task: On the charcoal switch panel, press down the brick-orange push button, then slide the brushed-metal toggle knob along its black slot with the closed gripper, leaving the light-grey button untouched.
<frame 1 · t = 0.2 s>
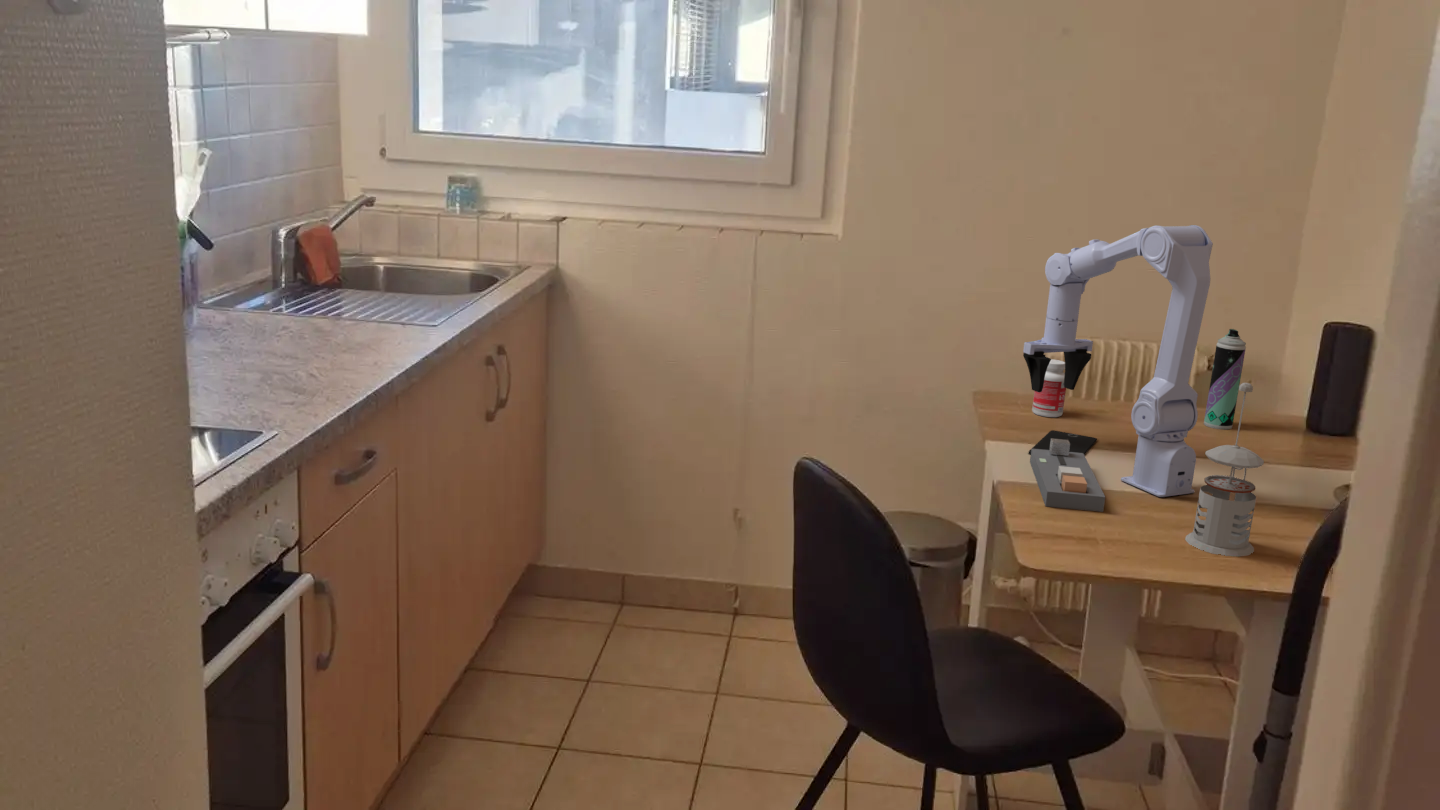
hand: (1052, 389, 234), 10 cm above the table, tool pointing down, fingers open, 7 cm apart
toggle knob: (1059, 447, 220), point 4 cm above the table, slide at 0.0 cm
french press: (1220, 543, 189), on the table
grey button: (1069, 477, 206), point 3 cm above the table, slide at 0.0 cm
cell phone: (1062, 450, 233), on the table
spray can: (1217, 426, 255), on the table
orange button: (1073, 486, 202), point 3 cm above the table, slide at 0.0 cm
pill bottle: (1046, 414, 256), on the table
switch panel: (1064, 485, 211), on the table
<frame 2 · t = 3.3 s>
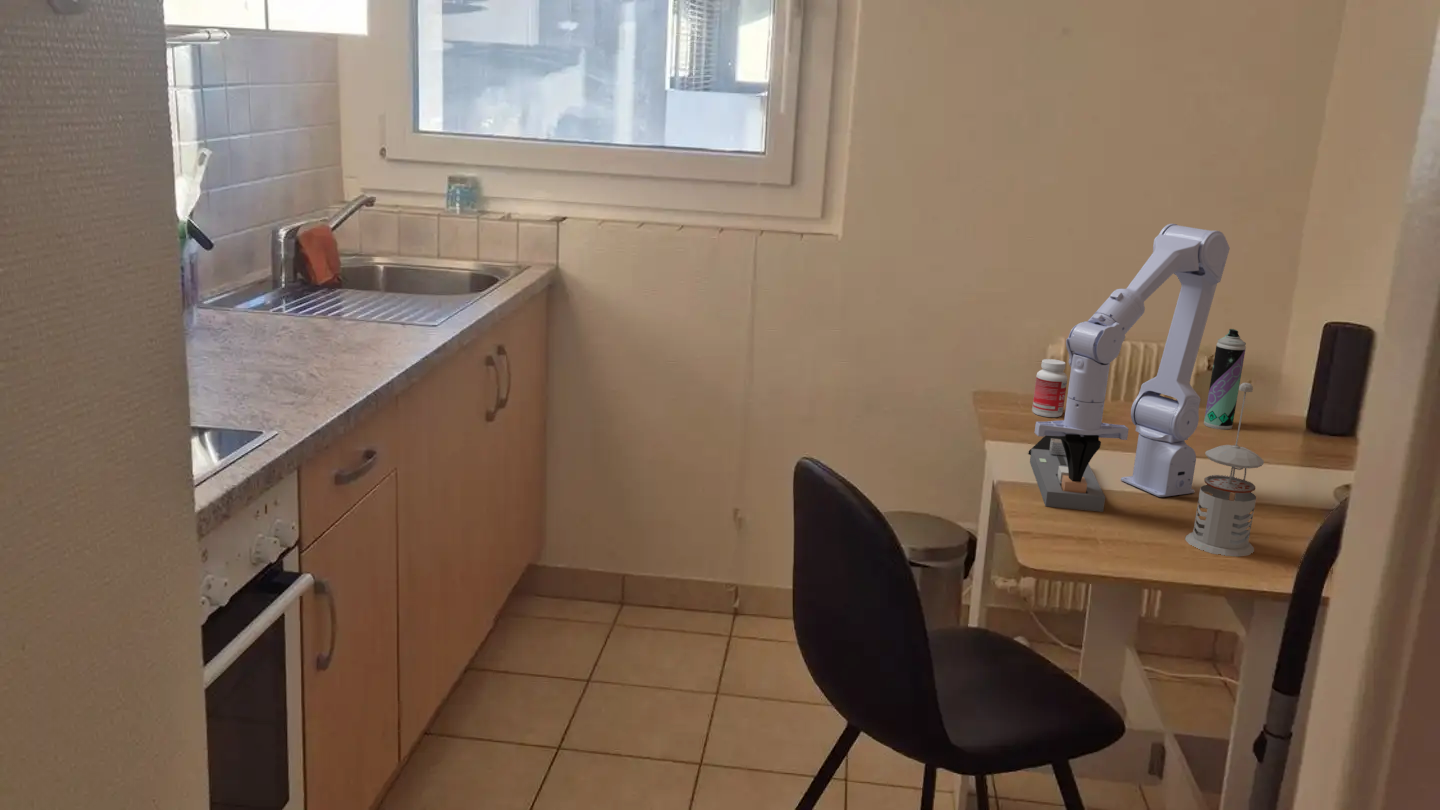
hand: (1074, 479, 201), 4 cm above the table, tool pointing down, fingers closed, pressing on orange button
orange button: (1073, 486, 202), point 3 cm above the table, slide at 0.0 cm, touching gripper
everything else where it was.
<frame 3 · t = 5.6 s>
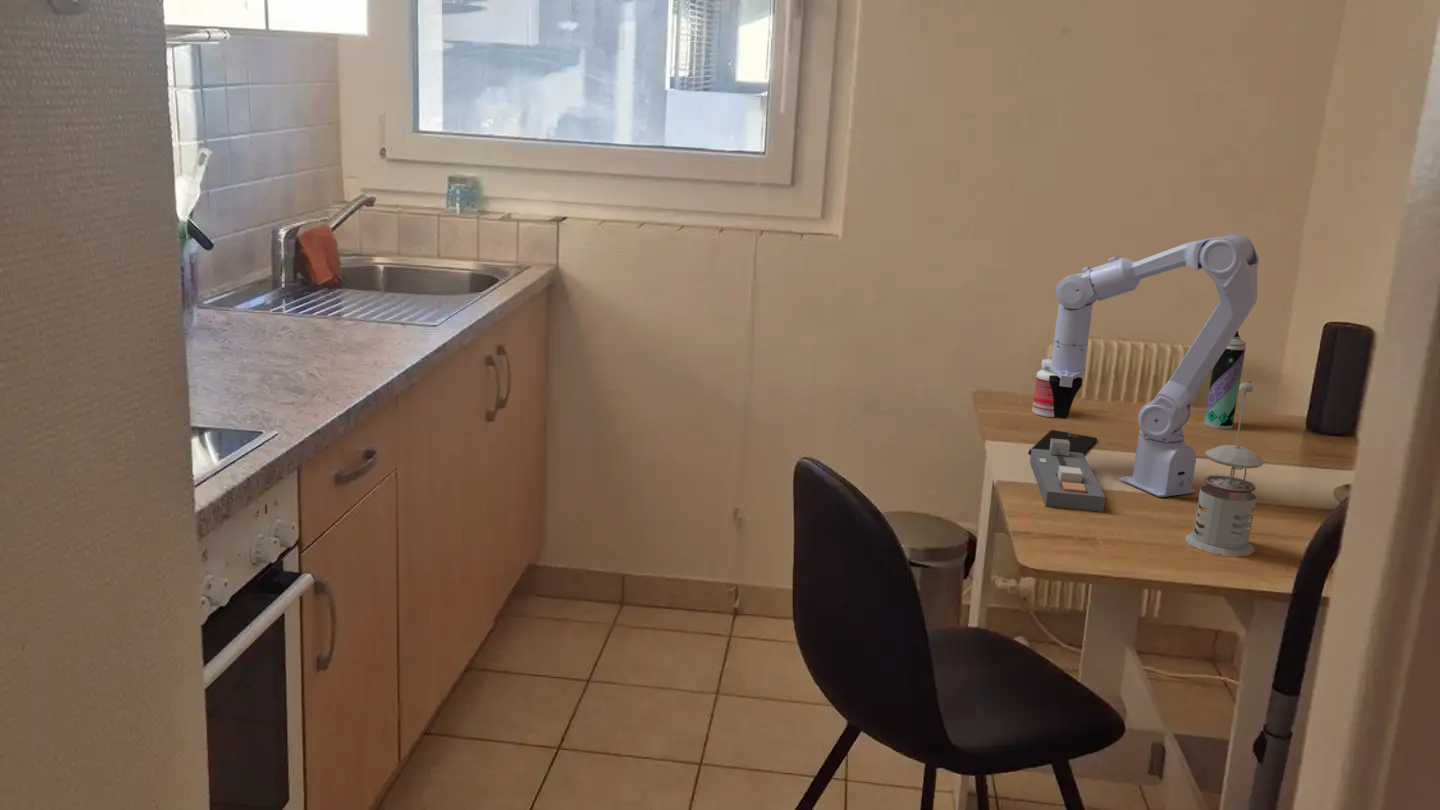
hand: (1060, 417, 221), 8 cm above the table, tool pointing down, fingers closed
orange button: (1073, 493, 202), point 2 cm above the table, slide at 1.1 cm
everything else where it was.
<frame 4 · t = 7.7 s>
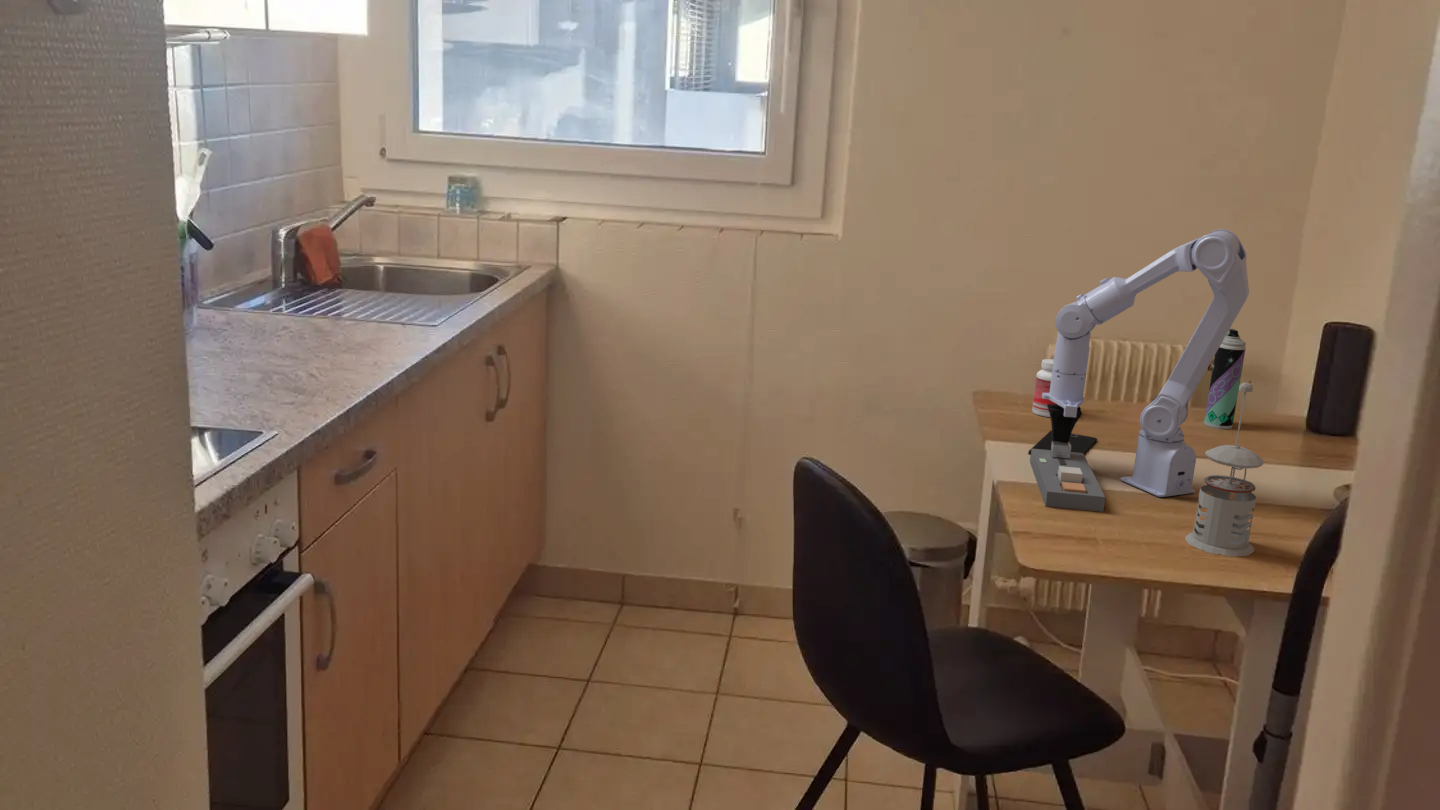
hand: (1059, 446, 220), 4 cm above the table, tool pointing down, fingers closed
toggle knob: (1060, 449, 218), point 4 cm above the table, slide at 1.6 cm, touching gripper
everything else where it was.
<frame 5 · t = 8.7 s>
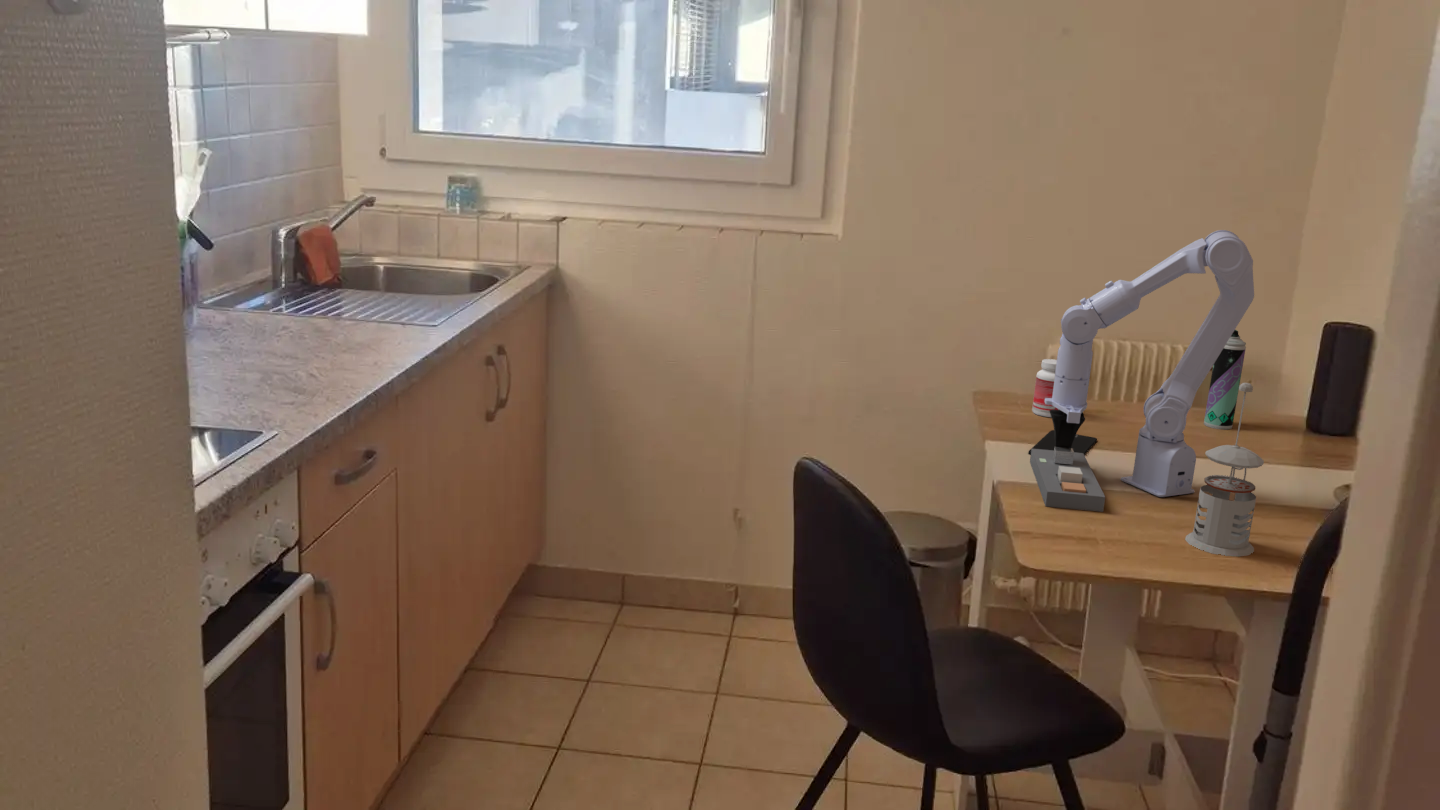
hand: (1062, 452, 216), 4 cm above the table, tool pointing down, fingers closed
toggle knob: (1063, 455, 215), point 4 cm above the table, slide at 5.2 cm, touching gripper
everything else where it was.
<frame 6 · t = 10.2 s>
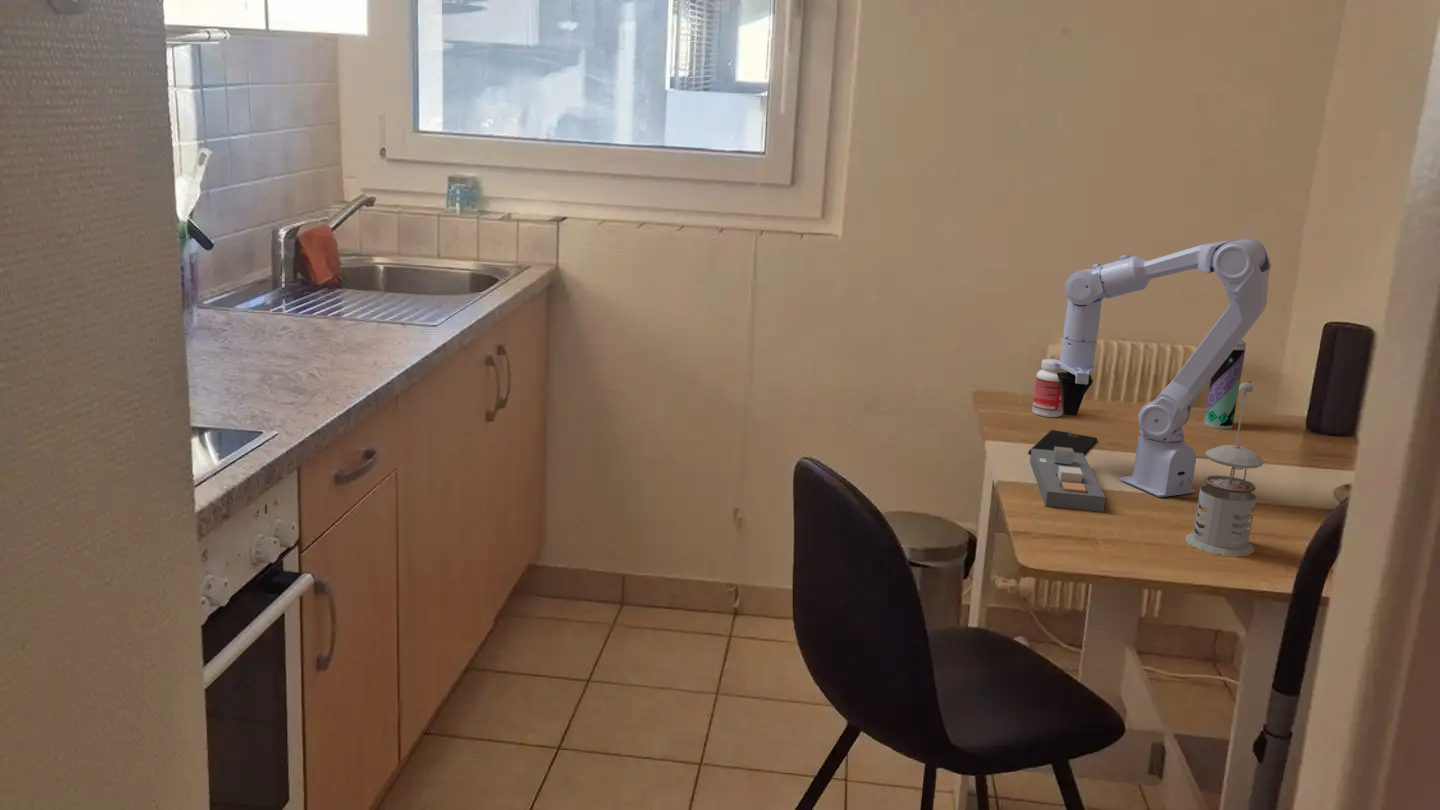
hand: (1069, 414, 220), 9 cm above the table, tool pointing down, fingers closed
toggle knob: (1063, 455, 215), point 4 cm above the table, slide at 5.1 cm
everything else where it was.
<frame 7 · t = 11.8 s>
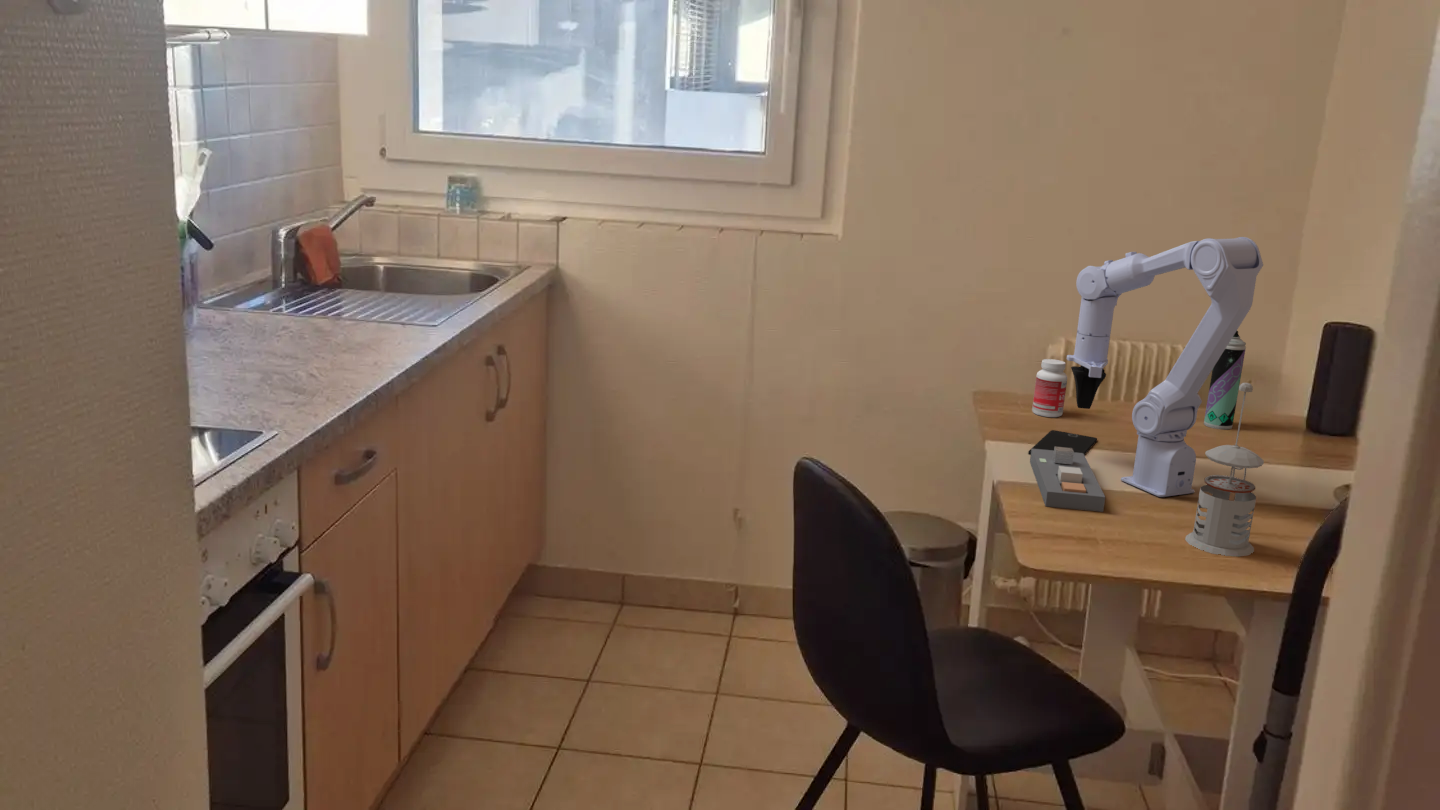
hand: (1083, 407, 225), 9 cm above the table, tool pointing down, fingers closed
nothing on the table moved.
at the end: orange button slide at 1.1 cm; toggle knob slide at 5.1 cm; grey button slide at 0.0 cm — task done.
